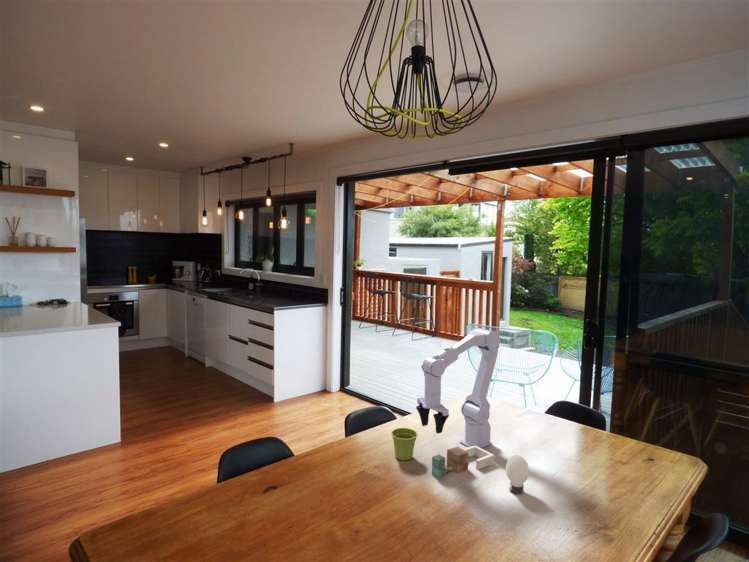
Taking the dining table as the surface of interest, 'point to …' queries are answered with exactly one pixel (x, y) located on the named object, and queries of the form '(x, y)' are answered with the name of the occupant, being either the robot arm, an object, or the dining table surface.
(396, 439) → the plant pot
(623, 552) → the dining table surface
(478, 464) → the shelf lane
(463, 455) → the tethered block
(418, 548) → the dining table surface
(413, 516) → the dining table surface
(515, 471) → the light bulb
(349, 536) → the dining table surface
